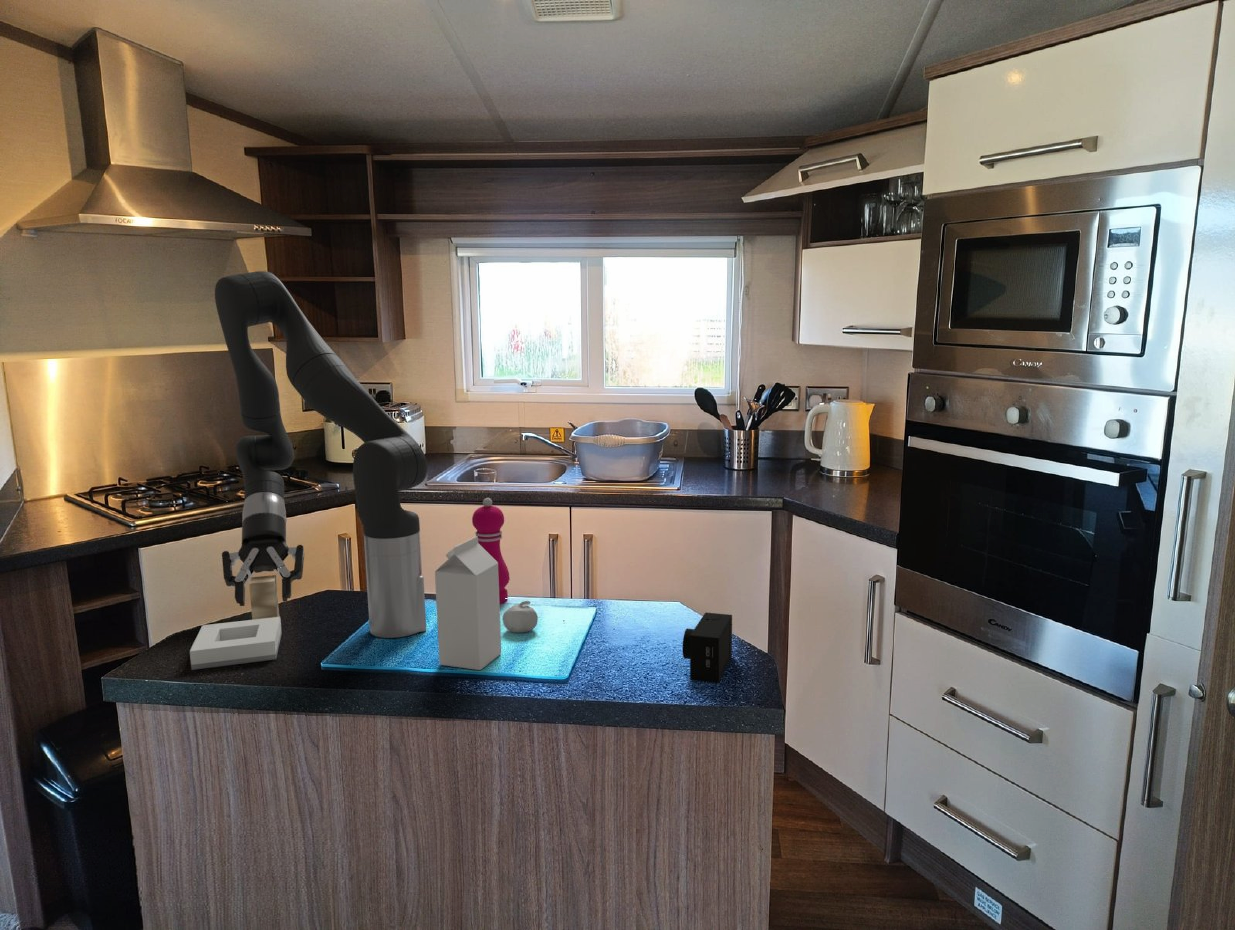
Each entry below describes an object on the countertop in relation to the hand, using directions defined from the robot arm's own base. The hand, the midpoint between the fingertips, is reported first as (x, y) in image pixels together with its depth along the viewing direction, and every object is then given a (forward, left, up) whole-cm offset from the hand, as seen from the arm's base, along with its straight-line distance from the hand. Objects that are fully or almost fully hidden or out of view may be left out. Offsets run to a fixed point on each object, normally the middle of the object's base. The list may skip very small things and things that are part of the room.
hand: (263, 601), depth 142 cm
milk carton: (-32, +28, -5) cm, 43 cm away
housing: (+3, +11, -4) cm, 12 cm away
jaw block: (0, -2, -4) cm, 5 cm away
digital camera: (-65, +44, -5) cm, 79 cm away
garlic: (-42, +18, -5) cm, 46 cm away
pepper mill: (-40, 0, -5) cm, 40 cm away
